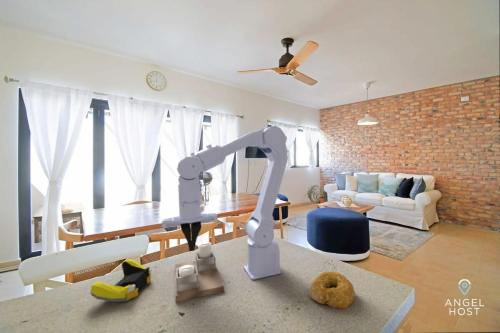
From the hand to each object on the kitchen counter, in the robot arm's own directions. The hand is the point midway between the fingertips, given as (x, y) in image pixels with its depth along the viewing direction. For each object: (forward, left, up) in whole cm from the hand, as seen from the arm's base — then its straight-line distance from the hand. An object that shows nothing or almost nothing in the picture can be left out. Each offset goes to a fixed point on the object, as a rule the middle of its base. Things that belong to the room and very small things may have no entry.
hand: (191, 249), depth 61 cm
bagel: (-32, +18, -10) cm, 38 cm away
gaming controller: (+17, -4, -10) cm, 20 cm away
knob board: (-1, -2, -10) cm, 10 cm away
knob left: (+2, +2, -8) cm, 8 cm away
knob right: (-4, -6, -6) cm, 9 cm away
